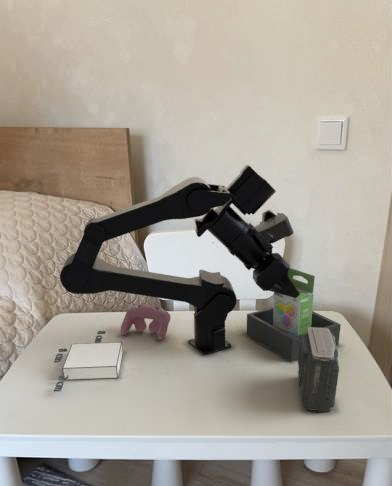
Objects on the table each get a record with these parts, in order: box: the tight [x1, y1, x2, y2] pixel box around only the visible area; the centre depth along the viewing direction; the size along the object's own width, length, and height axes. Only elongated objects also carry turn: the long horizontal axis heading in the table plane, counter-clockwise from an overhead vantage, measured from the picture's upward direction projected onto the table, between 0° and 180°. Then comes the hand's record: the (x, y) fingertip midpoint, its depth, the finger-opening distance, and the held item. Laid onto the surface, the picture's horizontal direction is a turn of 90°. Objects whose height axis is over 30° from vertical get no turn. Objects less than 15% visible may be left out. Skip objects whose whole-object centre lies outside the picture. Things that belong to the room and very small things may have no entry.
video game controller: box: [120, 303, 171, 341], centre depth 107 cm, size 10×5×7 cm, turn 71°
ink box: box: [272, 267, 316, 337], centre depth 101 cm, size 7×4×13 cm, turn 37°
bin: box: [246, 306, 341, 363], centre depth 103 cm, size 14×12×5 cm
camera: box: [297, 327, 340, 413], centre depth 84 cm, size 11×6×10 cm, turn 172°
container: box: [53, 330, 124, 392], centre depth 95 cm, size 20×12×3 cm, turn 2°
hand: (291, 287), depth 99 cm, fingers open, 9 cm apart
